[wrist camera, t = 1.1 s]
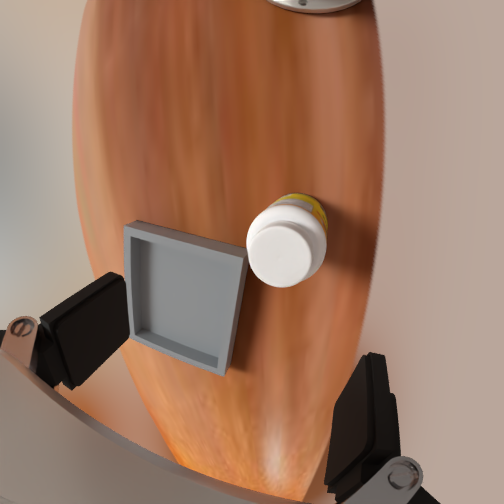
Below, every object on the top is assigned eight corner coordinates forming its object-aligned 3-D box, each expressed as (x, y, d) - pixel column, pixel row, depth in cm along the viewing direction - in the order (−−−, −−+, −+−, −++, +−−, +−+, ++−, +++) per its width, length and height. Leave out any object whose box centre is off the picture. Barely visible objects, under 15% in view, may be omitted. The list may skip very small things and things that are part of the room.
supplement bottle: (318, 256, 27) (309, 310, 18) (263, 239, 28) (227, 284, 19) (335, 201, 25) (337, 229, 15) (277, 184, 26) (244, 201, 16)
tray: (137, 220, 31) (123, 225, 29) (250, 249, 29) (243, 258, 26) (139, 328, 37) (129, 337, 35) (230, 364, 35) (224, 376, 32)
